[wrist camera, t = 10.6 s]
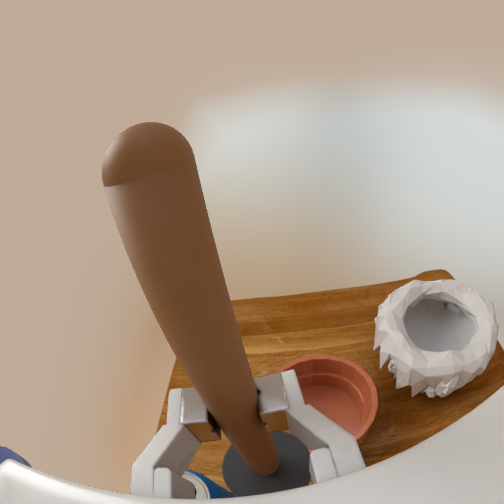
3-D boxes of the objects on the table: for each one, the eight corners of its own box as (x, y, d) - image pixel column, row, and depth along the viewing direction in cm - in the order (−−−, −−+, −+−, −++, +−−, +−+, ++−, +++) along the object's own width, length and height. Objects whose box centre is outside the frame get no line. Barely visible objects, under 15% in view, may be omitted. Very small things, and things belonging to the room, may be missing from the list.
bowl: (492, 402, 22) (525, 359, 17) (369, 421, 28) (385, 382, 23) (462, 311, 39) (476, 267, 34) (366, 316, 45) (371, 270, 40)
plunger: (251, 518, 11) (-73, 222, 1) (218, 458, 15) (47, 165, 6) (326, 482, 12) (374, 82, 3) (287, 428, 17) (227, 108, 7)
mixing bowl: (297, 486, 22) (296, 476, 19) (248, 409, 34) (239, 386, 30) (388, 426, 26) (401, 404, 23) (329, 366, 38) (331, 338, 35)
